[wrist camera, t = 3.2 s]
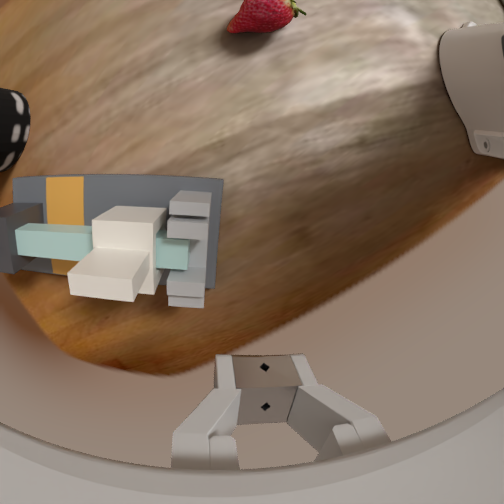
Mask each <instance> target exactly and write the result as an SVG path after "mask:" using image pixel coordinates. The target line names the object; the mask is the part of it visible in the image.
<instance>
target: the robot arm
mask: <svg viewBox="0 0 504 504" xmlns="http://www.w3.org/2000/svg"><path fill="white" fill-rule="evenodd" d="M439 57H440V65H441V71H442V75H443V79H444V82H445V85H446V88H447V91H448V94H449V96H450V99H451V101H452V103H453V105H454V107H455V109H456V111H457V113H458V114H459V116H460V118H461V119H462V121H463V123H464V125H465V127H466V129H467V133H468V137H469V141H470V144H471V147H472V149H473V151H474V152H475V153H476V154H480V155H486V156H491V157H496V158H500V159H504V22H500V23H490V24H482V25H476V24H475V23H474V22H467V23H465V24H464V25H463V26H462V28H458V29H450V30H448V31H446V32H445V33H444V35H443V36H442V39H441V42H440V48H439ZM214 371H215V372H214V389H212V390H211V391H210V393H209V394H208V395H207V396H206V397H205V398H204V399H203V401H202V402H201V403H200V404H199V405H198V406H197V407H196V408H195V409H194V410H193V412H192V413H191V414H190V415H189V416H188V417H187V418H186V419H185V420H184V421H183V422H182V424H181V425H180V426H179V427H178V428H177V429H176V430H175V431H174V432H173V440H172V458H171V468H164V467H155V466H147V465H140V464H134V463H127V462H122V461H116V460H111V459H107V458H102V457H97V456H93V455H89V454H86V453H82V452H78V451H74V450H71V449H68V448H64V447H61V446H58V445H55V444H52V443H49V442H46V441H43V440H41V439H38V438H35V437H33V436H30V435H28V434H25V433H23V432H21V431H18V430H16V429H14V428H12V427H9V426H7V425H5V424H3V423H1V422H0V504H504V388H503V389H501V390H499V391H498V392H496V393H495V394H493V395H491V396H490V397H488V398H487V399H485V400H483V401H481V402H479V403H478V404H476V405H474V406H472V407H470V408H469V409H467V410H465V411H463V412H461V413H459V414H457V415H455V416H453V417H451V418H449V419H447V420H445V421H443V422H440V423H438V424H436V425H434V426H431V427H429V428H427V429H424V430H422V431H419V432H417V433H414V434H411V435H409V436H406V437H403V438H401V439H398V440H395V441H392V442H391V440H390V438H389V437H388V435H387V433H386V431H385V430H384V428H383V426H382V425H381V423H380V421H379V420H378V418H377V416H376V415H374V414H372V413H370V412H369V411H367V410H365V409H363V408H361V407H360V406H358V405H356V404H355V403H353V402H351V401H349V400H348V399H346V398H344V397H343V396H341V395H340V394H338V393H336V392H335V391H333V390H332V389H329V388H328V387H327V386H325V385H323V384H318V382H317V380H316V378H315V376H314V374H313V372H312V369H311V367H310V365H309V363H308V361H307V359H306V357H305V355H304V354H289V355H266V356H261V355H260V356H259V355H220V354H216V356H215V370H214ZM277 422H287V424H288V425H289V426H290V427H291V428H293V429H294V430H295V431H296V432H297V433H298V434H299V435H300V436H301V437H302V438H303V439H304V440H305V441H307V442H308V443H309V444H310V445H311V446H312V447H313V448H315V449H316V450H317V451H318V452H319V454H318V456H317V457H316V459H315V460H314V462H309V463H302V464H295V465H289V466H281V467H280V466H279V467H270V468H258V469H244V470H243V469H241V470H240V468H239V463H238V456H237V449H236V443H235V439H234V438H232V437H231V434H232V433H233V431H234V430H235V428H236V426H237V425H242V424H258V423H277Z"/></svg>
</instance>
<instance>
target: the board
mask: <svg viewBox="0 0 504 504" xmlns="http://www.w3.org/2000/svg"><path fill="white" fill-rule="evenodd" d="M223 181H224V180H223V179H216V178H203V177H187V176H167V175H139V174H71V175H45V176H28V177H17V178H13V203H43V215H44V224H62V225H83V226H92V220H93V219H94V218H96V217H98V216H99V215H101V214H103V213H104V212H106V211H108V210H110V209H111V208H113V207H115V206H135V207H156V208H167V213H166V230H167V222H168V220H169V218H170V217H171V216H172V214H169V206H170V200H171V199H172V198H173V197H174V196H175V195H176V194H177V193H178V192H179V191H180V190H184V191H200V192H212V196H211V208H210V220H209V234H208V249H207V265H206V281H205V288H213V289H215V277H216V263H217V249H218V237H219V225H220V213H221V202H222V191H223ZM79 262H80V261H73V260H62V259H52V258H43V257H36V258H35V259H34V260H32V261H31V262H30V263H28V264H27V265H26V266H24V267H23V268H22V269H21V270H28V271H35V272H43V273H50V274H58V275H66V276H68V275H67V273H68V272H69V271H70V270H71V269H72V268H73V267H74V266H75V265H76V264H77V263H79ZM170 270H171V269H167V268H165V269H164V271H163V274H162V276H161V279H160V281H159V283H158V285H167V279H168V276H169V273H170Z"/></svg>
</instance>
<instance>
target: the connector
mask: <svg viewBox="0 0 504 504" xmlns="http://www.w3.org/2000/svg"><path fill="white" fill-rule="evenodd" d="M28 223H38V224H44V215H43V203H12V204H9V205H6V206H3V207H1V208H0V272H4V273H10V274H15V273H16V272H18V271H19V270H20V269H22V268H23V267H24V266H26V265H27V264H28V263H30V262H31V261H32V260H34V259H35V258H36V257H33V256H24V255H18V250H17V243H16V235H15V230H16V229H18V228H20V227H22V226H24V225H26V224H28Z"/></svg>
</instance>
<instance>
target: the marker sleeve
mask: <svg viewBox="0 0 504 504" xmlns="http://www.w3.org/2000/svg"><path fill="white" fill-rule="evenodd" d="M166 213H167V208H156V207H135V206H115V207H113V208H111V209H110V210H108V211H106V212H104V213H103V214H101V215H99V216H98V217H96V218H94V219H93V220H92V238H93V250H92V251H91V252H90V253H89V254H87V255H86V256H85V257H84V258H83V259H82V260H81V261H80V262H79V263H77V264H76V265H75V266H74V267H73V268H72V269H71V270H70V271H69V272H68V273H67V275H68V281H69V288H70V294H71V295H78V296H86V297H93V298H101V299H110V300H119V301H128V302H134V300H135V298H136V296H137V294H138V293H141V294H152V295H154V293H155V291H156V288H157V286H158V283H159V281H160V279H161V276H162V274H163V271H164V269H165V268H156V233H157V232H158V231H159V230H166Z"/></svg>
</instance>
